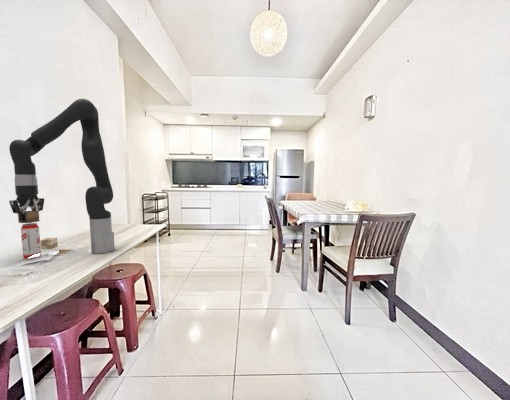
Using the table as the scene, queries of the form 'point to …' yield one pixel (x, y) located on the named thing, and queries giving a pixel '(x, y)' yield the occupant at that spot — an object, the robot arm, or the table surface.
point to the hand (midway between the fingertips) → (29, 221)
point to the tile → (63, 251)
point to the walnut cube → (31, 216)
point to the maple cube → (48, 243)
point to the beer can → (30, 239)
